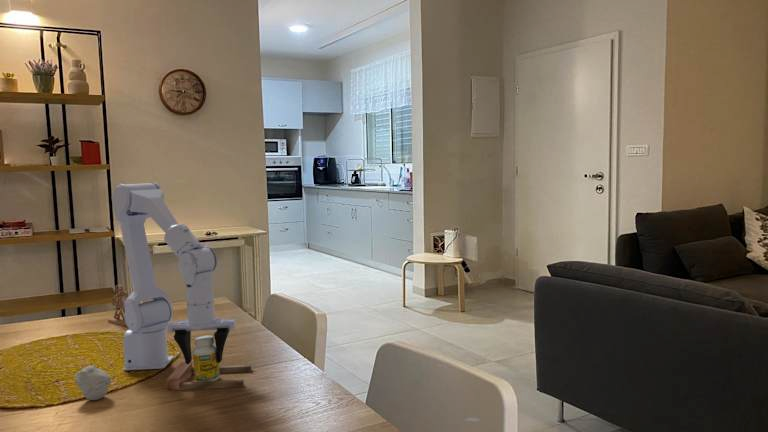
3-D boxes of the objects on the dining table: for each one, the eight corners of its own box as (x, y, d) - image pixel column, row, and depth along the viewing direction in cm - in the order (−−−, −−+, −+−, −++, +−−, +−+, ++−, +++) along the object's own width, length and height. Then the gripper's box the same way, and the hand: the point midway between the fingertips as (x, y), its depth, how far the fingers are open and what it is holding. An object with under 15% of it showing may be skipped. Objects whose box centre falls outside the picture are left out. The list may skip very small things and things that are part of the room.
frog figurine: (86, 393, 123) (84, 361, 123) (118, 393, 123) (116, 361, 122) (70, 405, 117) (67, 372, 117) (104, 405, 117) (101, 371, 116)
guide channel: (167, 390, 124) (166, 379, 124) (181, 372, 134) (181, 362, 134) (242, 386, 125) (242, 375, 124) (251, 369, 135) (250, 359, 135)
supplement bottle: (215, 373, 133) (212, 332, 132) (223, 380, 128) (220, 338, 128) (192, 379, 130) (188, 337, 129) (199, 386, 126) (195, 343, 125)
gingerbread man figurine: (107, 322, 180) (104, 284, 179) (119, 319, 183) (116, 282, 182) (123, 326, 175) (121, 287, 174) (135, 322, 178) (132, 284, 177)
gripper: (161, 308, 123) (165, 369, 124) (229, 305, 124) (233, 366, 125) (171, 300, 130) (175, 358, 131) (236, 297, 131) (239, 355, 132)
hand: (204, 361), depth 129 cm, fingers open, 6 cm apart
